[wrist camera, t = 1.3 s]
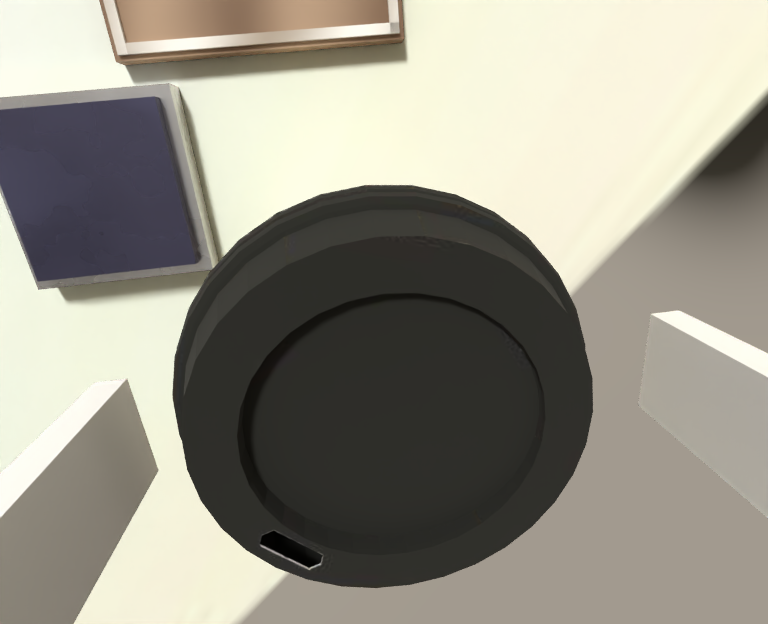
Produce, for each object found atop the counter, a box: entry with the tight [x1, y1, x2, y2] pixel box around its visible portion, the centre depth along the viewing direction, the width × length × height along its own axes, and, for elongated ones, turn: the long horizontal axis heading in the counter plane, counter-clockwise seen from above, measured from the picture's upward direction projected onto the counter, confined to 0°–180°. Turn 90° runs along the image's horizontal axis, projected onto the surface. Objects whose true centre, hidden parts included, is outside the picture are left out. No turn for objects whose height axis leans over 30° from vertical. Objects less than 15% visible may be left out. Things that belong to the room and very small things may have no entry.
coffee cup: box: [173, 185, 593, 588], centre depth 16 cm, size 10×10×15 cm
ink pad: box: [0, 83, 219, 290], centre depth 20 cm, size 8×8×2 cm
